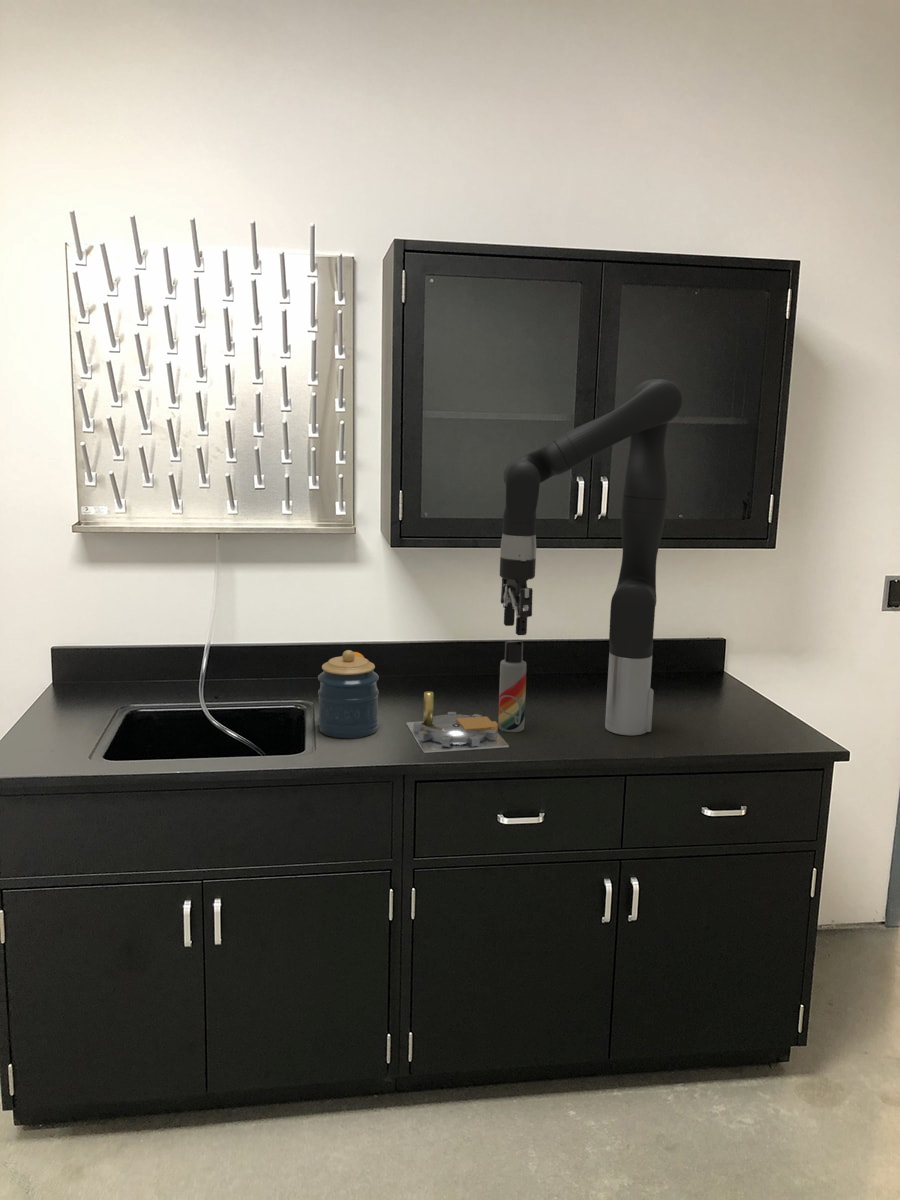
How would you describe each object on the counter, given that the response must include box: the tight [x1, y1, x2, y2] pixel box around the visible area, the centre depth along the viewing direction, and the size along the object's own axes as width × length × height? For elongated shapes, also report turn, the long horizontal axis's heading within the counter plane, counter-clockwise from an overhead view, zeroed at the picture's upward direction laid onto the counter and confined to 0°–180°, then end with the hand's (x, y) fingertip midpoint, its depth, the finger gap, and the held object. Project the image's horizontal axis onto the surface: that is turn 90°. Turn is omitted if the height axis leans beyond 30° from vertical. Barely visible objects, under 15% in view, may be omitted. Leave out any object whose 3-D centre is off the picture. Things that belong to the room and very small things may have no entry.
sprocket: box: [413, 691, 499, 747], centre depth 200 cm, size 18×18×8 cm
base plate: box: [406, 720, 510, 754], centre depth 201 cm, size 18×18×1 cm
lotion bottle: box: [497, 639, 527, 733], centre depth 204 cm, size 6×6×20 cm
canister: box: [317, 649, 380, 739], centre depth 201 cm, size 13×13×18 cm
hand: (514, 630), depth 201 cm, fingers open, 8 cm apart
